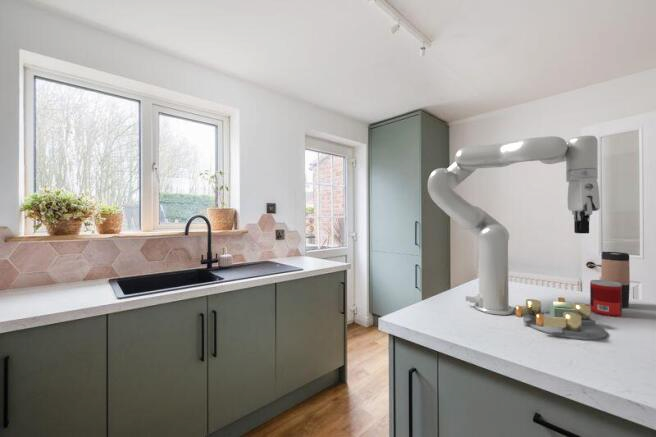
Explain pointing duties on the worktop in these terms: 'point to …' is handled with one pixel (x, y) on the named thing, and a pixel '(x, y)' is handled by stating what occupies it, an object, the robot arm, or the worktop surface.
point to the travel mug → (617, 272)
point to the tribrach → (556, 310)
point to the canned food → (606, 298)
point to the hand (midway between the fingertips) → (581, 233)
